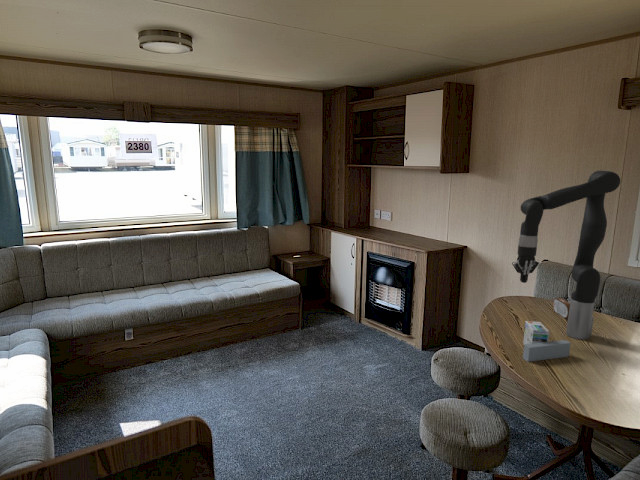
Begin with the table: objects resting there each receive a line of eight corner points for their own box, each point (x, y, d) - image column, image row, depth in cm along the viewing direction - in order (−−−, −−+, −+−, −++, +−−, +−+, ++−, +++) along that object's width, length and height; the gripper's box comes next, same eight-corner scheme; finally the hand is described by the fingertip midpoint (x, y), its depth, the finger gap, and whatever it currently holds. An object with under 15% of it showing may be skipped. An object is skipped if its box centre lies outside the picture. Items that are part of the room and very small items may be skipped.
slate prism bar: (563, 353, 181) (564, 339, 180) (568, 356, 178) (570, 342, 177) (522, 358, 176) (524, 344, 175) (527, 361, 173) (529, 347, 172)
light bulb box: (547, 355, 179) (550, 331, 176) (530, 354, 180) (533, 330, 177) (538, 344, 189) (541, 321, 187) (522, 343, 190) (524, 320, 188)
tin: (572, 321, 217) (574, 305, 215) (566, 321, 217) (568, 305, 215) (556, 310, 231) (558, 295, 230) (551, 310, 231) (553, 295, 230)
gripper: (534, 242, 197) (529, 279, 200) (509, 243, 193) (505, 280, 197) (546, 246, 190) (541, 283, 193) (520, 247, 186) (516, 285, 190)
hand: (523, 282), depth 195 cm, fingers closed
